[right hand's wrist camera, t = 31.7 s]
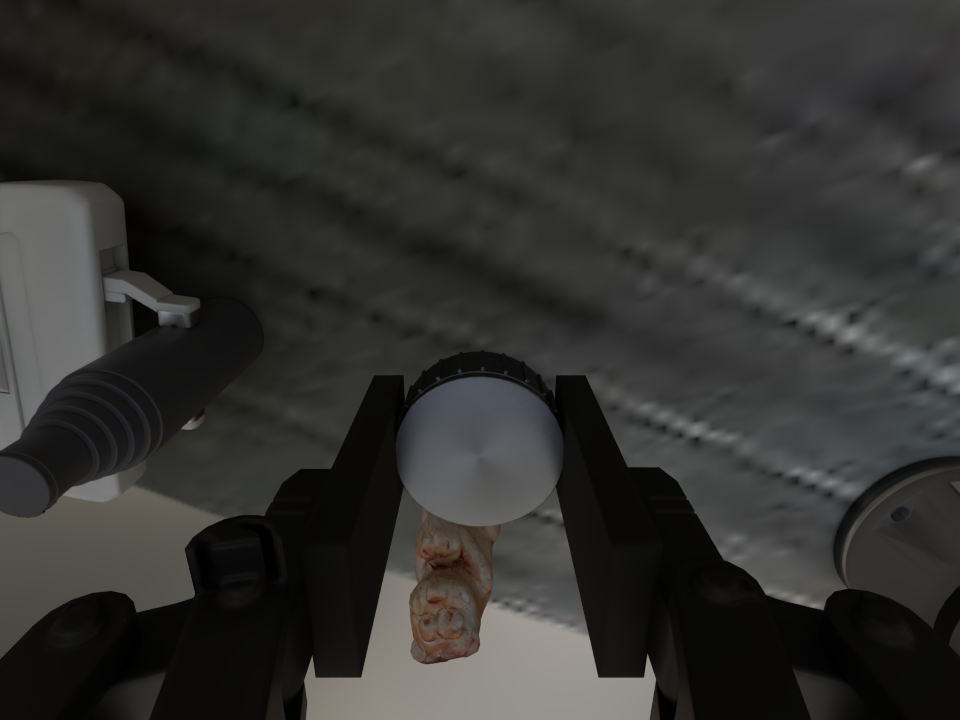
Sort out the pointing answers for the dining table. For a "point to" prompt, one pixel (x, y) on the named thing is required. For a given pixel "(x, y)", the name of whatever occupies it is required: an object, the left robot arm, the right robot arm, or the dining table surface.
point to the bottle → (125, 405)
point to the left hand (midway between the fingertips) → (198, 365)
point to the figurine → (450, 588)
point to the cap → (479, 439)
